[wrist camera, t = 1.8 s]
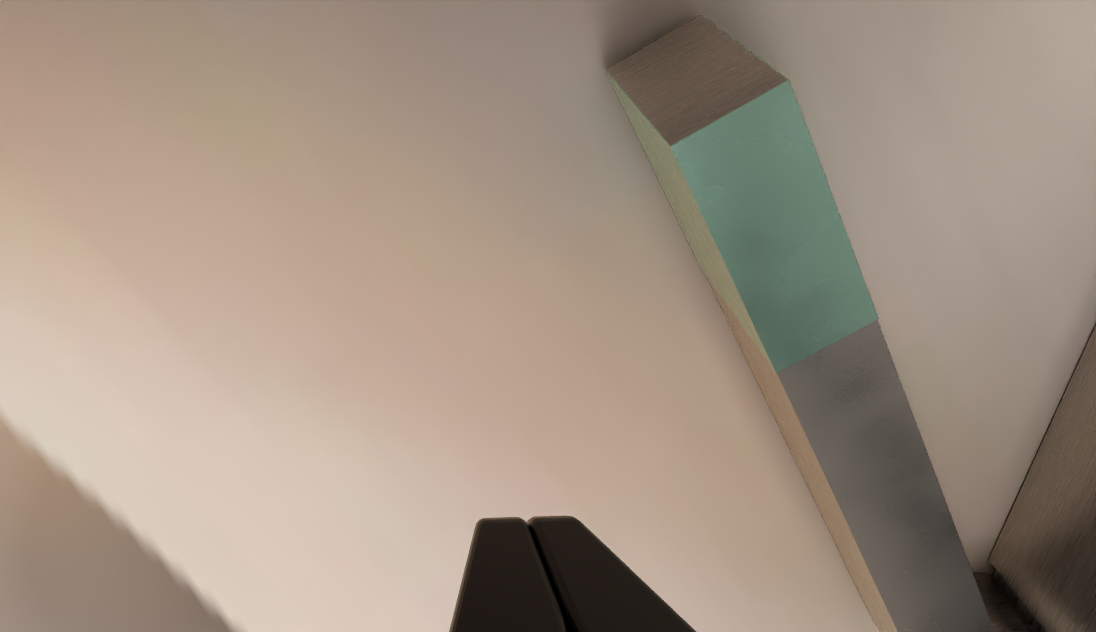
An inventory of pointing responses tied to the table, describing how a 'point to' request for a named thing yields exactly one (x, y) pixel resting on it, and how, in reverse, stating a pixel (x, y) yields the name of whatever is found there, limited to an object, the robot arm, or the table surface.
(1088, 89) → the table surface
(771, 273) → the bar
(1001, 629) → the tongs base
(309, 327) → the table surface
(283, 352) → the table surface
